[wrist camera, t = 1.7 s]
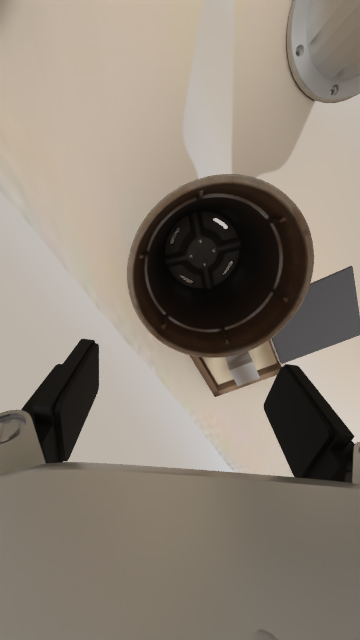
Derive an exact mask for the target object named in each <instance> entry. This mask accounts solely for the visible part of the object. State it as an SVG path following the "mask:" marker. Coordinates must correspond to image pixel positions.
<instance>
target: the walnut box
mask: <svg viewBox="0 0 360 640" xmlns="http://www.w3.org/2000/svg"><path fill="white" fill-rule="evenodd" d="M268 342H269V344H270V347H271V349H272V352H273V354H274V357H275V360H276V362H277V363H276V364H273V365H270V366H268V367H265V368H262V369H260V370H257V372H258V374H259V376H260V379H257V380H254V381H252V382H249V383H246V384H243V385H241V386H237V384H236V382H235V380H234V379H233V380H230V381H227V382H225V383H222V384H219V385H218V383H217V382H216V380H215V378H214V376H213V375H212V373H211V371H210V369H209V368H208V366H207V364H206V363H205V361H204V359H203V357H197V356H192V355H190V357H191V358H192V360H193V362H194V363H195V365H196V367H197V368H198V370H199V372H200V373H201V375H202V376H203V378H204V380H205V381H206V383H207V385H208V386H209V388H210V390H211V391H212V393H213V394H214V396H215V397H216V396H219V395H222V394H225V393H228V392H230V391H233V390H236V389H239V388H242V387H244V386H247V385H250V384H253V383H255V382H258V381H261V380H264V379H267V378H269V377H272V376H275V375H278V372H279V370H280V368H281V365H280V363H279V362H278V360H277V357H276V355H275V352H274V349H273V347H272V344H271V341H270V340H268Z"/></svg>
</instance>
